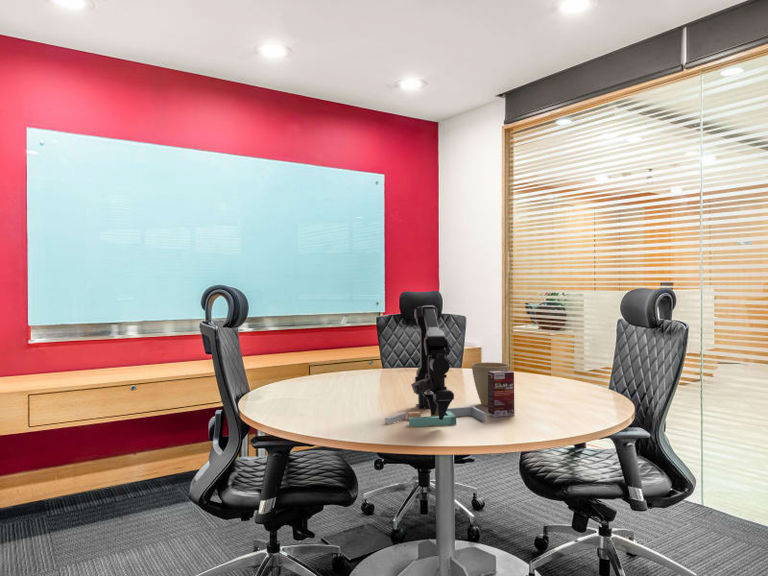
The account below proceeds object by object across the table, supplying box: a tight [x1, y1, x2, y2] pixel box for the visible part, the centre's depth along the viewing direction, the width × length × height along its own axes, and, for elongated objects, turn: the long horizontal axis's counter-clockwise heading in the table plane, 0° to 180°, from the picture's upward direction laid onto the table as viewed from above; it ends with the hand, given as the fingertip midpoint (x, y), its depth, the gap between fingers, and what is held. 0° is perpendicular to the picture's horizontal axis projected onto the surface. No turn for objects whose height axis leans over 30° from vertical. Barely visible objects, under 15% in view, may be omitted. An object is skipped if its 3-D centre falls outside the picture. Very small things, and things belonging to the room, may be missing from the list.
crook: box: [408, 411, 457, 427], centre depth 188 cm, size 9×16×3 cm, turn 96°
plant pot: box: [471, 362, 510, 407], centre depth 215 cm, size 15×15×16 cm
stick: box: [384, 411, 407, 425], centre depth 191 cm, size 2×10×2 cm, turn 142°
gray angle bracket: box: [447, 405, 486, 422], centre depth 192 cm, size 12×12×3 cm
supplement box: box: [487, 370, 515, 418], centre depth 197 cm, size 9×5×16 cm, turn 106°
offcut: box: [406, 411, 422, 421], centre depth 193 cm, size 2×4×2 cm, turn 102°
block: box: [429, 408, 445, 416], centre depth 193 cm, size 5×5×5 cm
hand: (436, 417), depth 184 cm, fingers open, 8 cm apart
